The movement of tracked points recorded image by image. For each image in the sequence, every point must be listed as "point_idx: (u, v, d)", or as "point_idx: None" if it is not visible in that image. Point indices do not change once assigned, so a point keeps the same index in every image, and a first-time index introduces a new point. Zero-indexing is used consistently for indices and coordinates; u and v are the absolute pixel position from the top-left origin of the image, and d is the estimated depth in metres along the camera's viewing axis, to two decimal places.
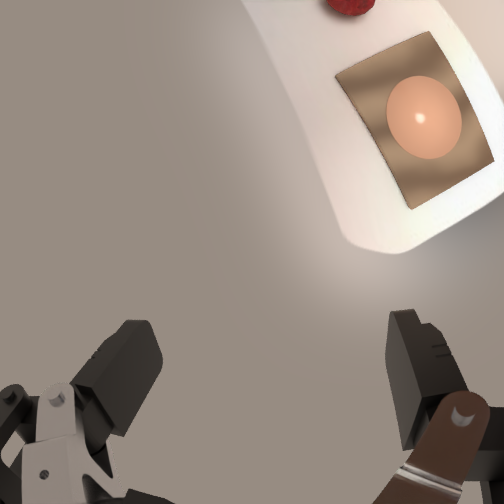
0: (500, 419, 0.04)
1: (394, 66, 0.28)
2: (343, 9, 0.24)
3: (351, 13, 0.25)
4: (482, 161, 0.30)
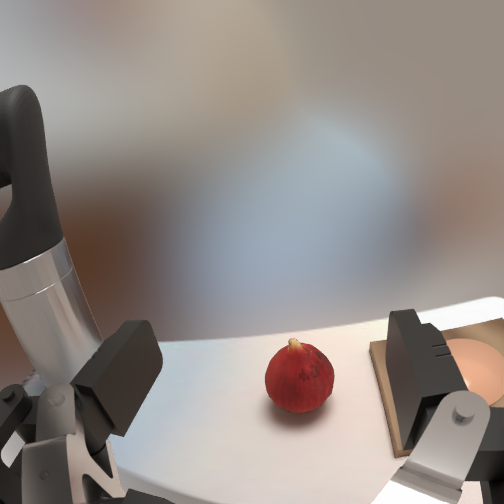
0: (500, 419, 0.04)
1: None
2: (321, 393, 0.22)
3: (329, 391, 0.23)
4: None
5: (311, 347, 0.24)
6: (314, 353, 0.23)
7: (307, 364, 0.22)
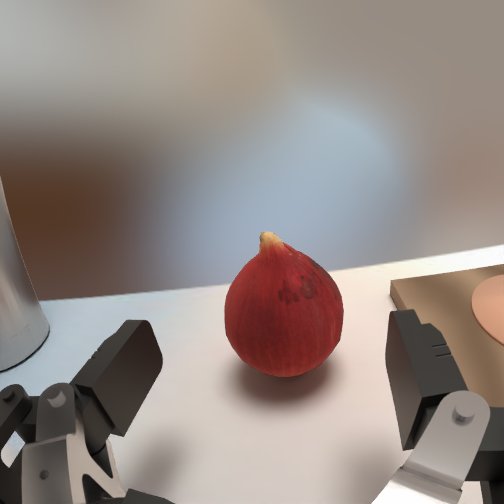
0: (500, 419, 0.04)
1: (456, 333, 0.14)
2: (322, 333, 0.13)
3: (336, 333, 0.13)
4: None
5: (301, 252, 0.14)
6: (306, 259, 0.14)
7: (293, 273, 0.13)
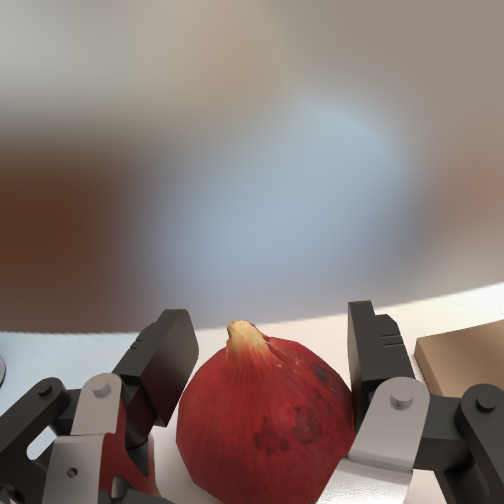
0: (445, 408, 0.05)
1: None
2: (324, 480, 0.06)
3: None
4: None
5: (299, 350, 0.08)
6: (308, 368, 0.08)
7: (281, 404, 0.07)
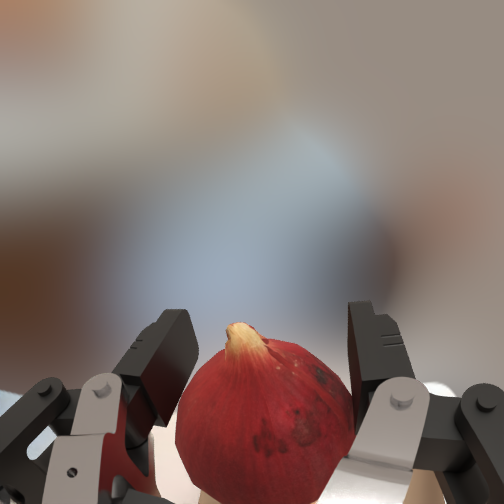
0: (445, 408, 0.05)
1: None
2: (323, 482, 0.06)
3: None
4: None
5: (298, 352, 0.08)
6: (307, 370, 0.08)
7: (280, 406, 0.07)
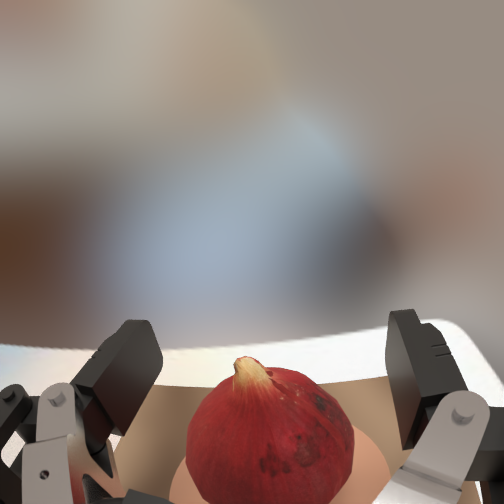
0: (500, 419, 0.04)
1: (139, 479, 0.12)
2: (322, 497, 0.07)
3: (341, 484, 0.08)
4: None
5: (299, 381, 0.09)
6: (307, 398, 0.08)
7: (283, 432, 0.07)
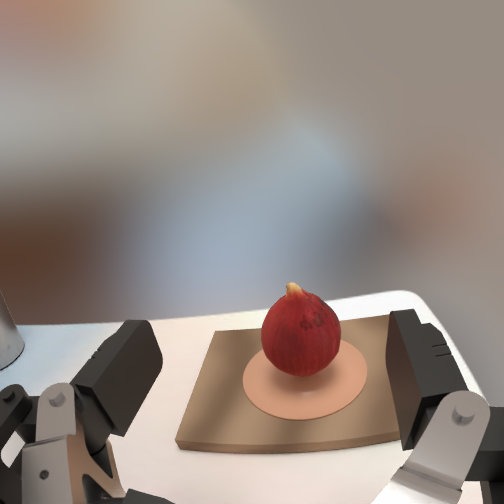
0: (500, 419, 0.04)
1: (222, 378, 0.25)
2: (327, 347, 0.20)
3: (336, 347, 0.20)
4: None
5: (313, 294, 0.21)
6: (317, 300, 0.21)
7: (308, 310, 0.20)
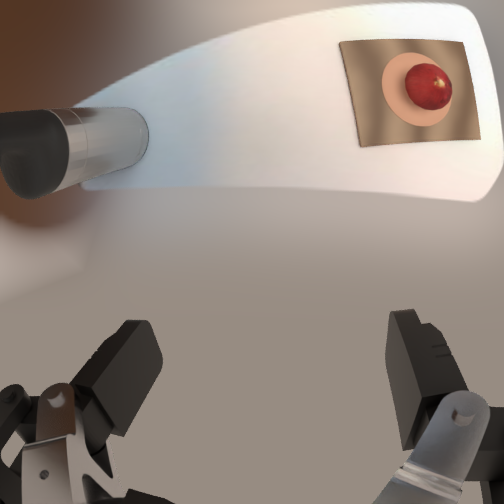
0: (500, 419, 0.04)
1: (369, 92, 0.33)
2: (446, 104, 0.28)
3: None
4: (461, 54, 0.28)
5: (445, 78, 0.25)
6: (448, 84, 0.25)
7: (445, 95, 0.26)
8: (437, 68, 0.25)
